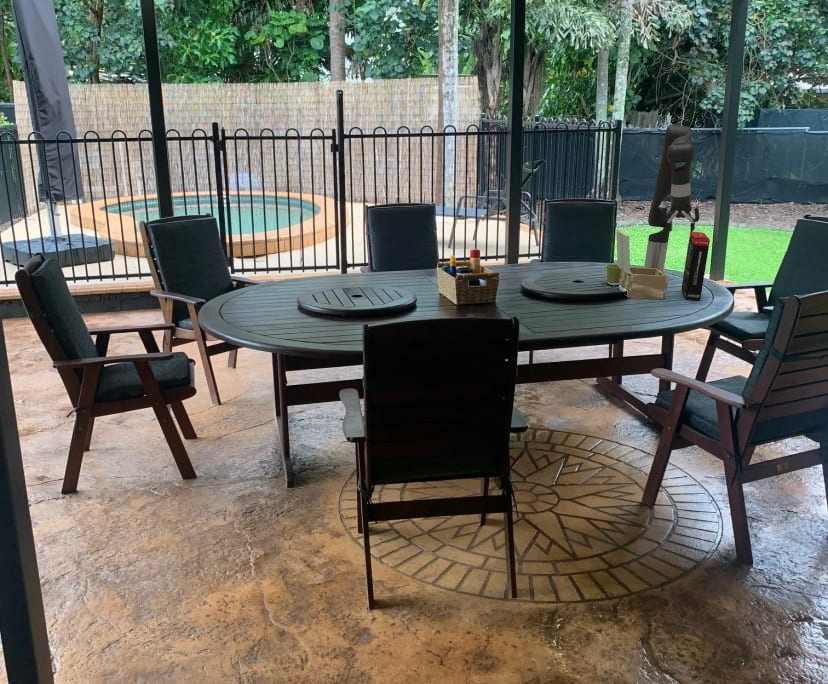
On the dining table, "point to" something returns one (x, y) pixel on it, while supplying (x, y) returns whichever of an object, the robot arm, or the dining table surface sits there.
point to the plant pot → (613, 273)
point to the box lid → (623, 252)
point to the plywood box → (644, 283)
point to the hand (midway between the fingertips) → (681, 231)
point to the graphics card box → (695, 265)
